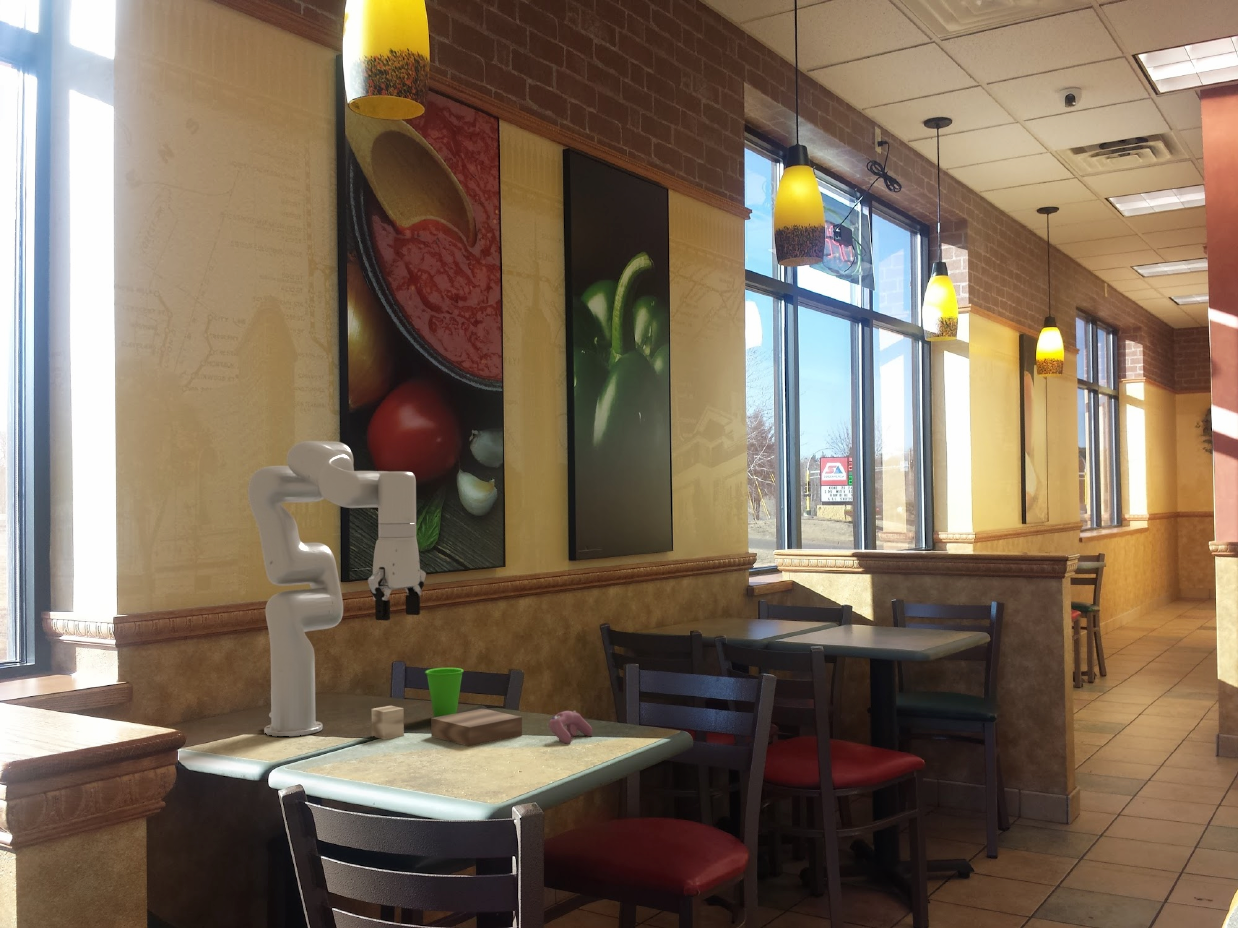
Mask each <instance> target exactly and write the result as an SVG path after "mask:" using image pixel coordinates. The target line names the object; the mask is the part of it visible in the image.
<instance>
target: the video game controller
mask: <svg viewBox="0 0 1238 928" xmlns="http://www.w3.org/2000/svg"><path fill="white" fill-rule="evenodd" d="M548 726H549V730H550V732H551V733H552V734H554V735H555V737H556V738H557V739H558V740H559V741H561V743H564V744H565V745H569V744H570V745H571V743H572V741H573V740H572V738H574V737H576V736H577V735H578V731H579V732H580V733H582V734H583V735H584V736H588V737H591V736H592V735H593V732H594V730H593V728H592V726H591V725H590V724H589V722H587V721H586V720H585V719H584V717H582V716H581V714H580V713H579V712H577V710H573V711H570V710H564V711H561V712H558V713H556V714H555V715H554V716H553V717H552V718H551V719H550V720H549V721H548Z"/></svg>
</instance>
